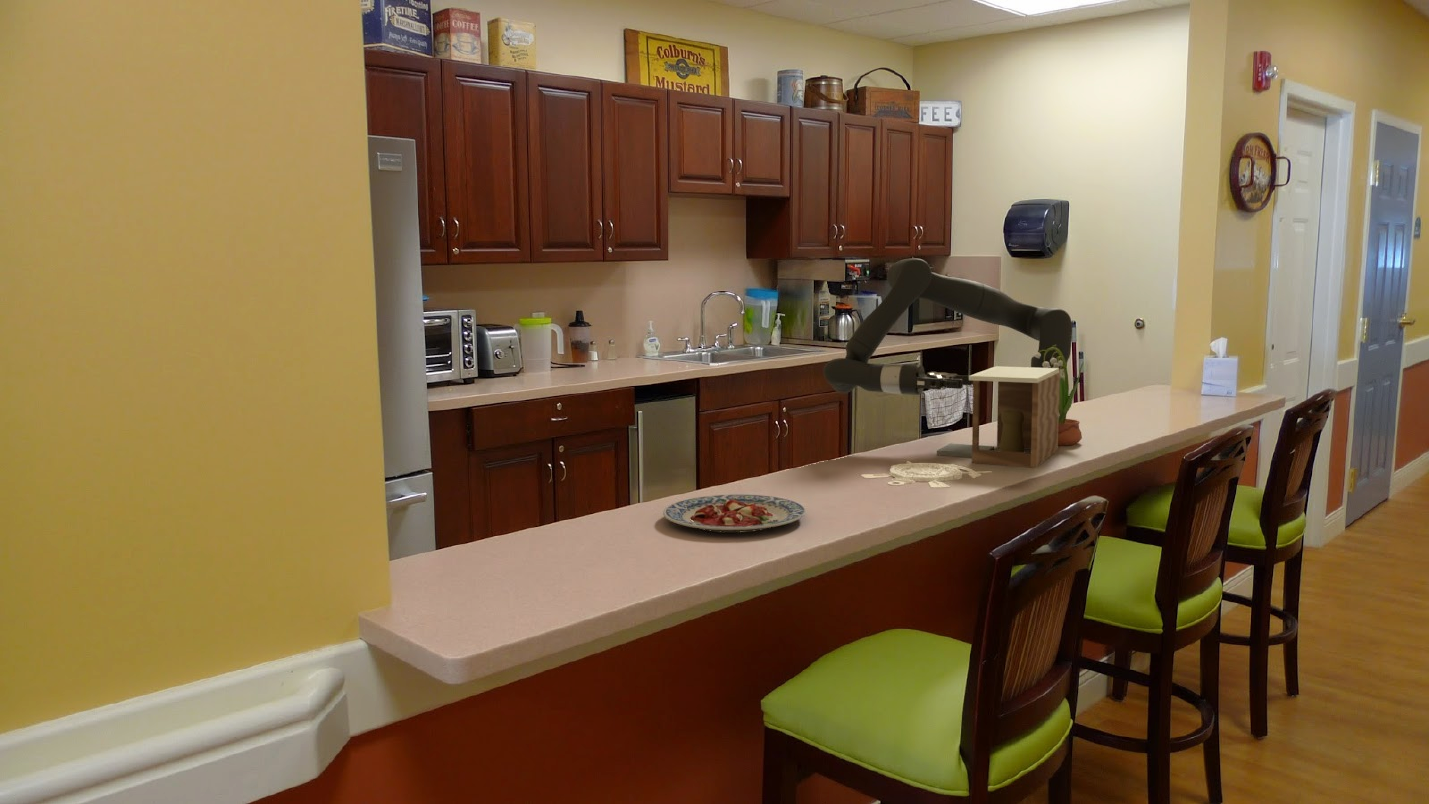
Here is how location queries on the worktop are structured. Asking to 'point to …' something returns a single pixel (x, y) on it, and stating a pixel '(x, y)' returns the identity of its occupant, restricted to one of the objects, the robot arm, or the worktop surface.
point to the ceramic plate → (734, 512)
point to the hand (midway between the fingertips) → (967, 382)
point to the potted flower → (1064, 401)
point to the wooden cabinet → (1032, 397)
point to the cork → (1012, 431)
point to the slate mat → (960, 450)
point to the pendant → (925, 473)
